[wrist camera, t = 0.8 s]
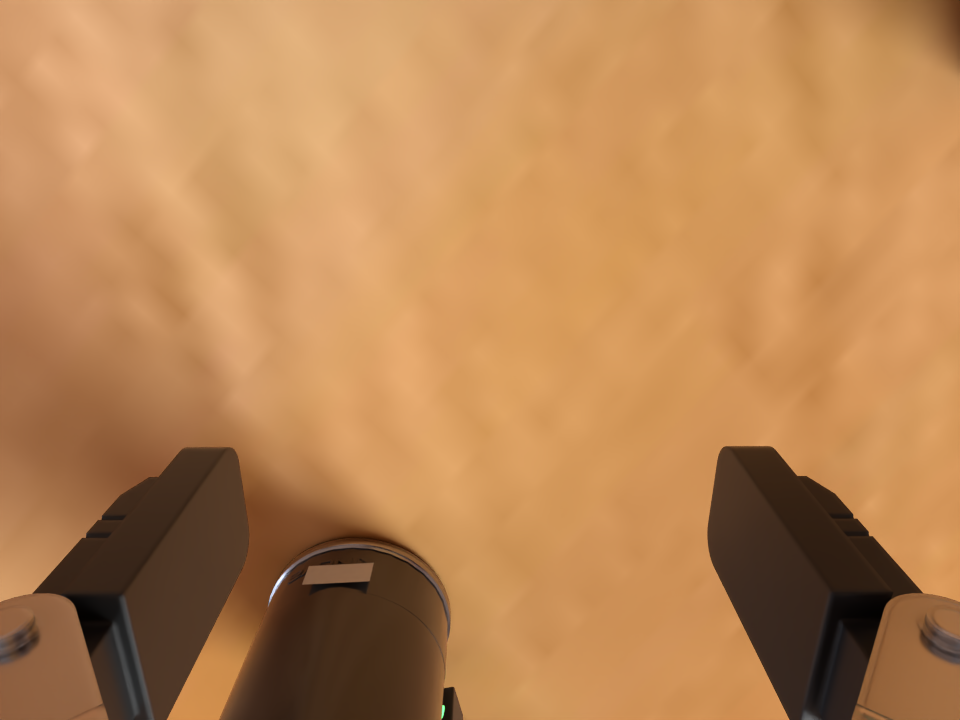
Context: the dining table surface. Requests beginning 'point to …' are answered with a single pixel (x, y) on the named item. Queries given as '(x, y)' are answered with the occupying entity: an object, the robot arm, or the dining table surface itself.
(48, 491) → the dining table surface
